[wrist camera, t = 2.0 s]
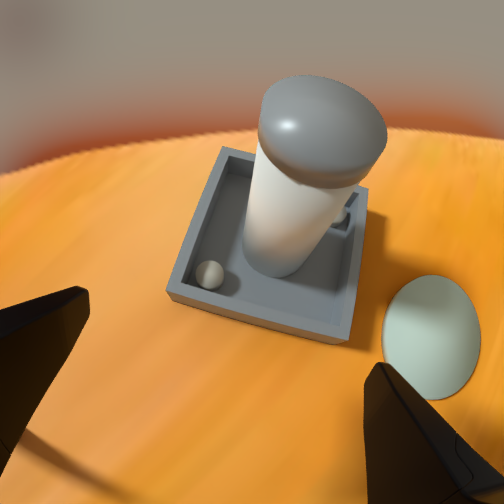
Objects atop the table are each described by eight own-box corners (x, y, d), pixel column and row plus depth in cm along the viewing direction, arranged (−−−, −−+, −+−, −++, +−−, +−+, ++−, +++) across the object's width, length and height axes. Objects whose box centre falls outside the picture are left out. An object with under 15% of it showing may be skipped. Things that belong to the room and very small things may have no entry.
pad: (487, 326, 24) (493, 324, 23) (438, 421, 21) (444, 422, 20) (419, 254, 26) (425, 250, 26) (356, 348, 23) (361, 347, 22)
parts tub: (333, 345, 23) (348, 340, 20) (172, 300, 23) (165, 290, 20) (355, 206, 28) (368, 188, 25) (221, 167, 28) (222, 146, 25)
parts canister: (321, 246, 25) (405, 126, 12) (278, 293, 23) (346, 191, 10) (272, 203, 26) (312, 63, 13) (225, 245, 24) (233, 107, 11)
